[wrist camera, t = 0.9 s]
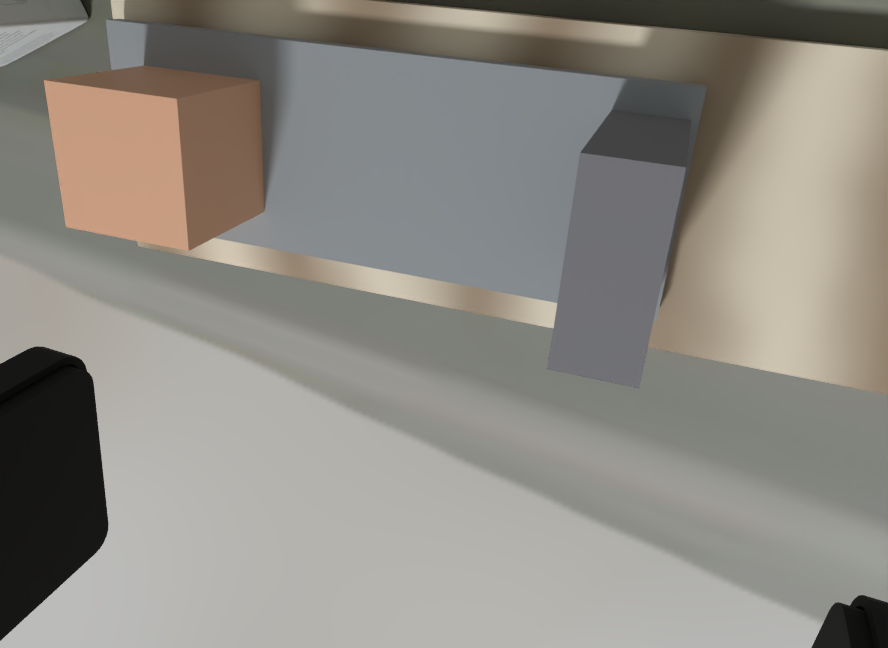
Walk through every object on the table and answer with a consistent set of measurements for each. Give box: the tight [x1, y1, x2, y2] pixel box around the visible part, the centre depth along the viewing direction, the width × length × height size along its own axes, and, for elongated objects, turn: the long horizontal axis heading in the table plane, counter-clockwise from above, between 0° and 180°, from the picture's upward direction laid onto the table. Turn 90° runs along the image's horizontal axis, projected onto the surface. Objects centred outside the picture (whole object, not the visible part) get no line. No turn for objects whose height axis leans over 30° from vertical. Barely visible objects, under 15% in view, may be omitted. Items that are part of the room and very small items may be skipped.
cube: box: [44, 65, 264, 251], centre depth 27 cm, size 5×5×5 cm
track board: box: [111, 0, 888, 395], centre depth 28 cm, size 33×11×1 cm, turn 86°
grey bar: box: [106, 19, 707, 388], centre depth 25 cm, size 22×8×8 cm, turn 86°
